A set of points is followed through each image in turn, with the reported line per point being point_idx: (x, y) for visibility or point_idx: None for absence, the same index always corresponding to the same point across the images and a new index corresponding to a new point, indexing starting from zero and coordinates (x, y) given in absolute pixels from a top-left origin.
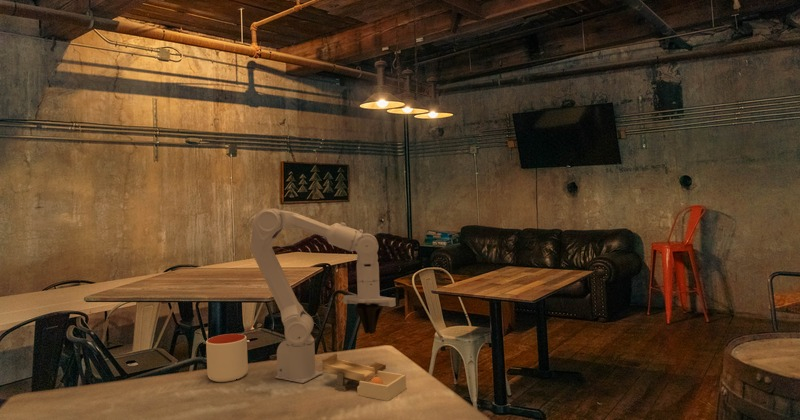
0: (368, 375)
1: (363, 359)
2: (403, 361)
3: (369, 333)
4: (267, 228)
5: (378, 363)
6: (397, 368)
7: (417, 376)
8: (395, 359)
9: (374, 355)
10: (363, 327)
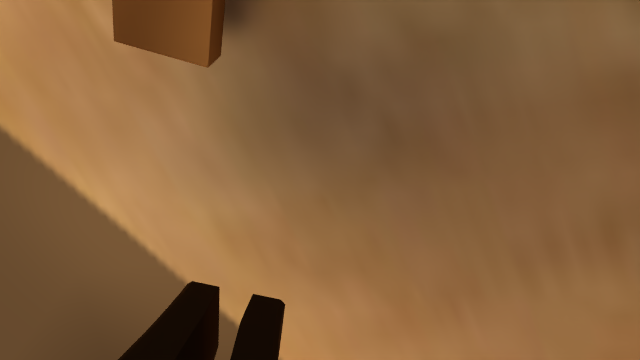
0: None
1: (452, 302)
2: None
3: (216, 287)
4: None
5: (177, 51)
6: (192, 192)
7: (15, 87)
8: None
9: (408, 354)
10: (272, 353)
